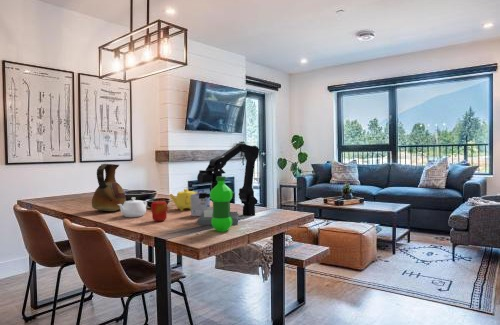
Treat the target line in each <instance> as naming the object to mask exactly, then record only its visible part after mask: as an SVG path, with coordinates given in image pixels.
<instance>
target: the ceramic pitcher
mask: <svg viewBox="0 0 500 325" xmlns="http://www.w3.org/2000/svg"><path fill="white" fill-rule="evenodd" d="M119 166H120V164H116V163H114V164H113V163H102V164H100V165H99V166H98V168H97V170H96V179H97V183H98V186H97V188H96V189H95V191H94V194H93V196H92V199H91V207H92V208H93V209H94V210H98V211H104V212H116V211H118V210H120V206H119V205H117V204H122V206H123V204H124V202H125V201H127V197H126V193H125V191H124V188H122V186H121V184H119V183H118V182H117V180H116V170H117V168H119ZM104 174H105V176H104Z"/></svg>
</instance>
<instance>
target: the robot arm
mask: <svg viewBox="0 0 500 325" xmlns="http://www.w3.org/2000/svg"><path fill="white" fill-rule="evenodd" d="M239 153H244V158H245V161H246V162H245V169H244V170H245V171H244V178H243V186H242V187H240V188H239V189H238V192H239V193H238V195H237V196H238V198H239V200H240V203H241V204H243V205H242V214H243V216H256V205H258V202H259V201H258V199H257V198H256V197H255V191H254V188H253V181H254V173H255V165H256V164H255V163H256V161H257V159H258V158H259V155H260V148H259V147H258V146H256V145H250V144H249V145H248V144H246V143H242V142H241V143H237V144H236V145H234V146H233V147H231V148H230V149H229V150H227V151H226V152H224V153H223V154H221V155H219V156H216V157H213V158H212V159H210V160H209V163H208V165H207V167H206V168H205V170H204V169H203V170H202V169H201V170H199V172H198V174H197V177H196V178H197V182H198V184H200V185H201V184H210V186H209V193H208V192H207V191H204V192H202V191H200V192H201V193H200V194H199V199H205V198H206V197H210V192H211V190H212V189H213V188H214V187H215V186H216V185H217V184H218V181H216V177H219V176H223V174H226V171H225V170H224V167H225V166H226V164H227V163H228V162H229V161H230V160H231V159H233V158H234V157H236V156H237V155H239ZM232 193H233V196H232V199H235V197H236V196H235V192H234V191H232ZM210 201H211V202H212V203H213V201H212V200H211V198H210Z"/></svg>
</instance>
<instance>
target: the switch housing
mask: <svg viewBox="0 0 500 325" xmlns="http://www.w3.org/2000/svg"><path fill="white" fill-rule="evenodd" d="M230 217H231V219H232V225H233V226H235V225H238V224H239V213H238V211H230ZM212 218H213V217H204V212H202V214H201V215H200V216H198V219H197V226H212V224H211V220H212Z"/></svg>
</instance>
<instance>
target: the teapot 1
mask: <svg viewBox="0 0 500 325" xmlns="http://www.w3.org/2000/svg"><path fill="white" fill-rule="evenodd" d="M117 205H119V206H120V209H119V210H120V212H121V214H122V216H124V217H126V218H138V217H143V215H145V214H146V212H147V206H148V201H146V200H140V199H136V197H133V196H132V197H131V199H130V200H126V201H125V202H124V204H123V206H122V204H117Z"/></svg>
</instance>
